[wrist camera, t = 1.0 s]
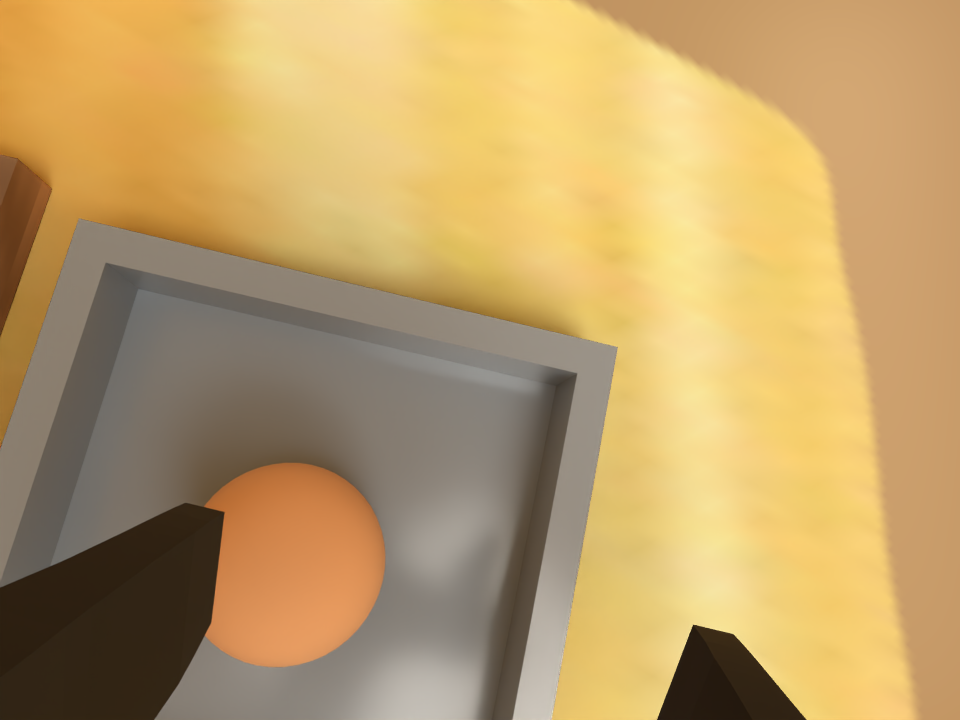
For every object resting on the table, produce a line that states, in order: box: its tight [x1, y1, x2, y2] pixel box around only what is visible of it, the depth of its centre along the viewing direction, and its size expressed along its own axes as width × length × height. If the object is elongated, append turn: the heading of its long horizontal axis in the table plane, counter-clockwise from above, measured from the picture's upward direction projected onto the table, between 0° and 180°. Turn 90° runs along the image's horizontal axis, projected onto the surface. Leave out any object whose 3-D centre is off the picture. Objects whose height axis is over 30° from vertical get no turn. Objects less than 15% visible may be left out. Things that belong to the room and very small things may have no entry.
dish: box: [0, 219, 618, 720], centre depth 20 cm, size 15×15×3 cm
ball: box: [204, 463, 385, 667], centre depth 19 cm, size 5×5×5 cm
